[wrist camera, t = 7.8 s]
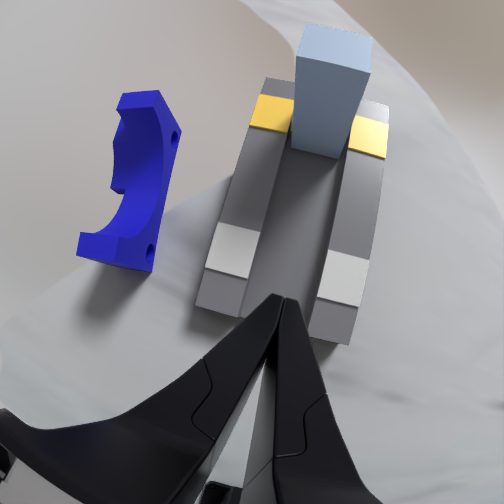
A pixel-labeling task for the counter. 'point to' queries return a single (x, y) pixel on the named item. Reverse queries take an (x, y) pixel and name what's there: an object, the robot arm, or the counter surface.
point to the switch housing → (298, 219)
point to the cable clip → (137, 183)
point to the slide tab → (328, 87)
